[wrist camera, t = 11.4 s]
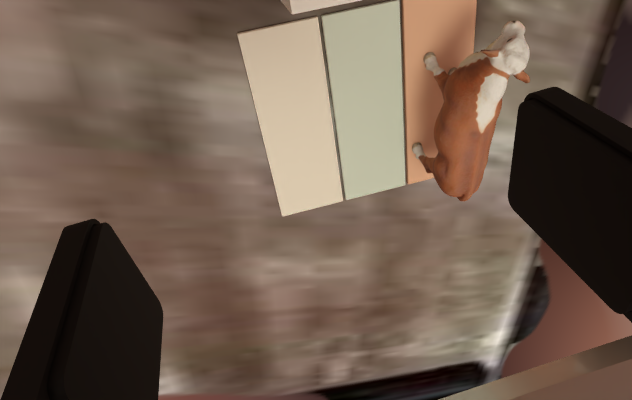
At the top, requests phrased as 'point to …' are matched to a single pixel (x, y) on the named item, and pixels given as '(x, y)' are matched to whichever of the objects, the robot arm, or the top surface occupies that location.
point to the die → (311, 4)
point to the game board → (352, 95)
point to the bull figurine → (472, 110)
